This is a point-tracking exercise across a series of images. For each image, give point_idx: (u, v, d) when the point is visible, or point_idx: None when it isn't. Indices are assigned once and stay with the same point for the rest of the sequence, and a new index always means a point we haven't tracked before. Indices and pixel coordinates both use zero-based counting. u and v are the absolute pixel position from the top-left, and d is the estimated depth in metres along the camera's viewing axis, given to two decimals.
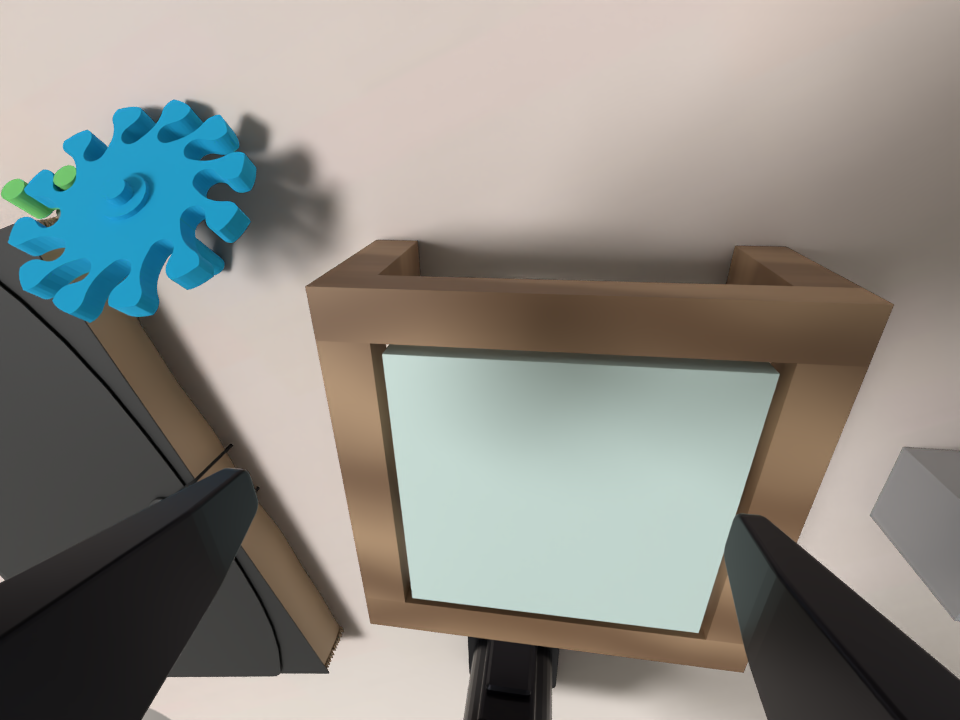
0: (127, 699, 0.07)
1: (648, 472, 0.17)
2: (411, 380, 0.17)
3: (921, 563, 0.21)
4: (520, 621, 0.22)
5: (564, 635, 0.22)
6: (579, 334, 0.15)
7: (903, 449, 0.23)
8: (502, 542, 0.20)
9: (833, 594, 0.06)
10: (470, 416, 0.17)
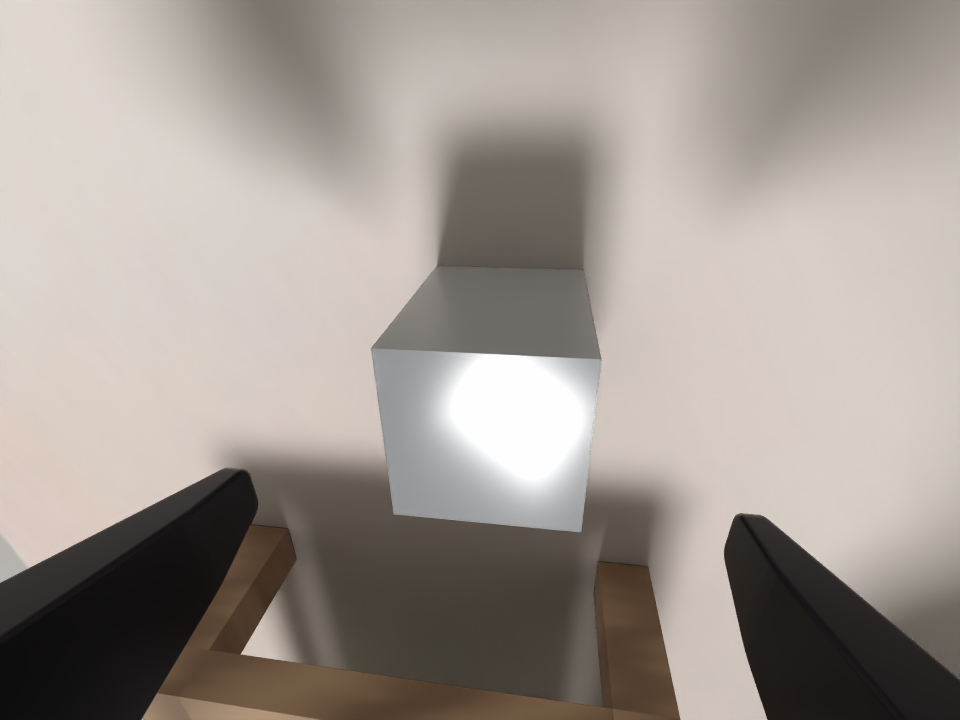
0: (127, 699, 0.07)
1: None
2: None
3: None
4: None
5: None
6: None
7: None
8: None
9: (833, 594, 0.06)
10: None
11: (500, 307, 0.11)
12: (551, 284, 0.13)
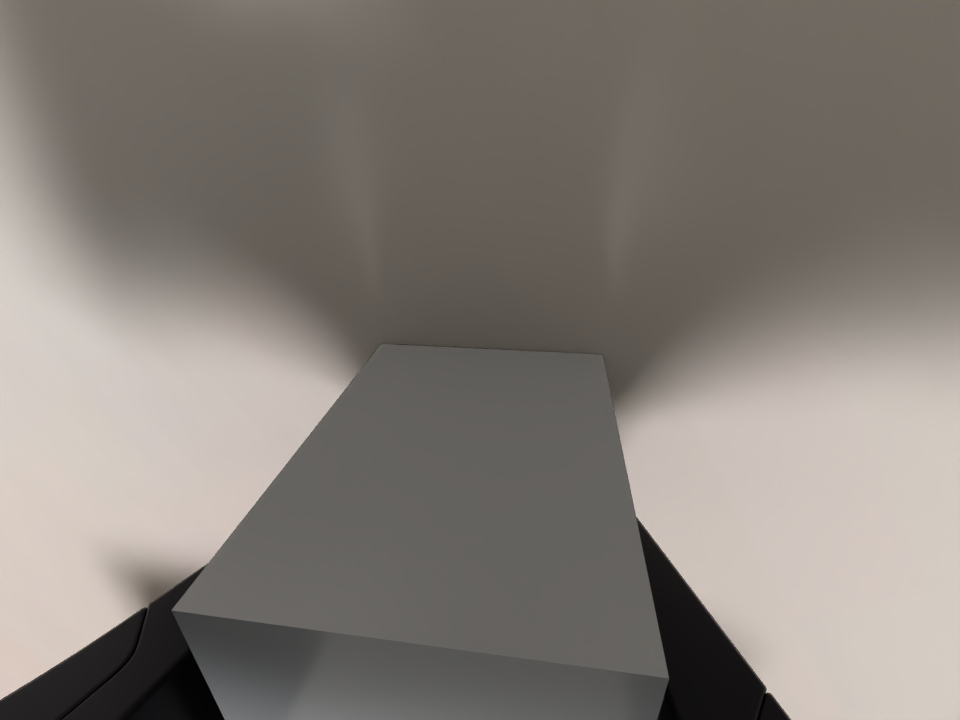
0: None
1: None
2: None
3: None
4: None
5: None
6: None
7: None
8: None
9: (656, 575, 0.06)
10: None
11: (463, 459, 0.06)
12: (553, 392, 0.08)
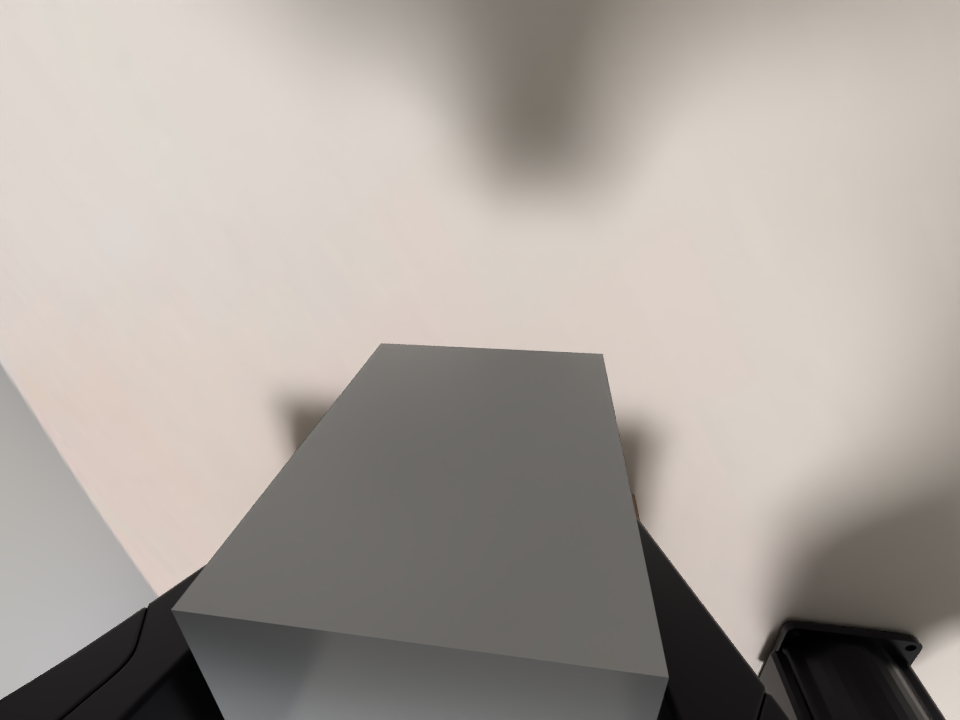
0: None
1: None
2: None
3: None
4: None
5: None
6: None
7: None
8: None
9: (656, 575, 0.06)
10: None
11: (463, 459, 0.06)
12: (553, 391, 0.08)
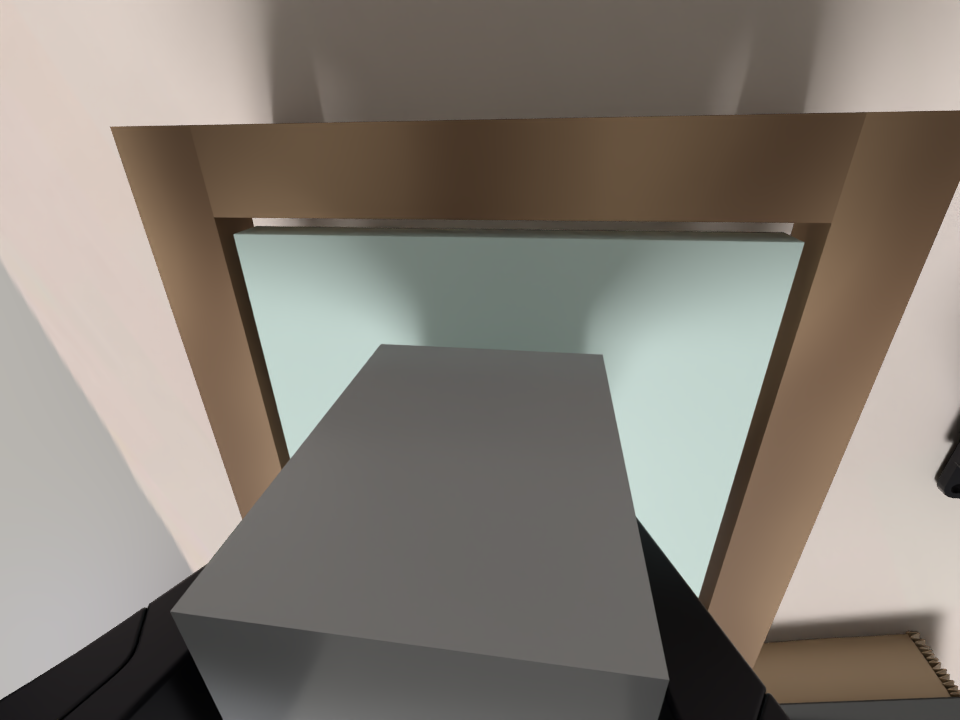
0: None
1: None
2: None
3: None
4: (750, 520, 0.13)
5: (796, 464, 0.12)
6: (253, 438, 0.14)
7: None
8: None
9: (656, 575, 0.06)
10: None
11: (463, 460, 0.06)
12: (553, 392, 0.08)
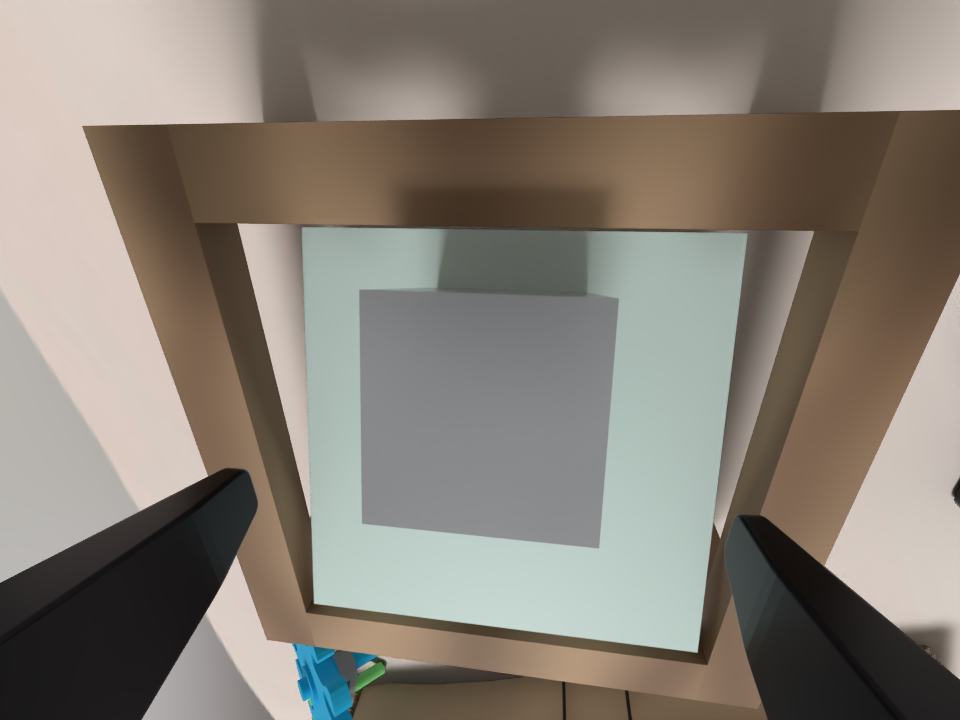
0: (127, 699, 0.07)
1: None
2: (340, 581, 0.16)
3: None
4: None
5: (814, 486, 0.11)
6: (240, 453, 0.14)
7: None
8: None
9: (833, 594, 0.06)
10: (377, 530, 0.16)
11: None
12: (555, 292, 0.12)
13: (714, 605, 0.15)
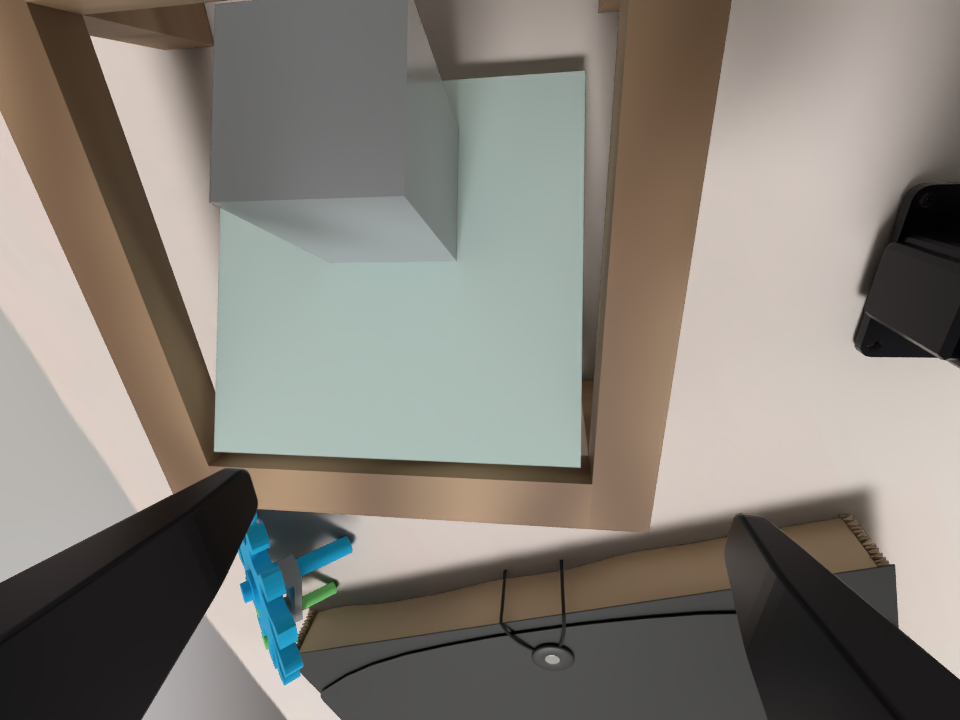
0: (127, 699, 0.07)
1: None
2: (240, 425, 0.17)
3: (408, 229, 0.12)
4: (617, 327, 0.13)
5: (651, 250, 0.12)
6: (114, 277, 0.14)
7: (331, 262, 0.16)
8: (451, 334, 0.16)
9: (833, 594, 0.06)
10: (276, 367, 0.17)
11: None
12: None
13: (594, 421, 0.15)
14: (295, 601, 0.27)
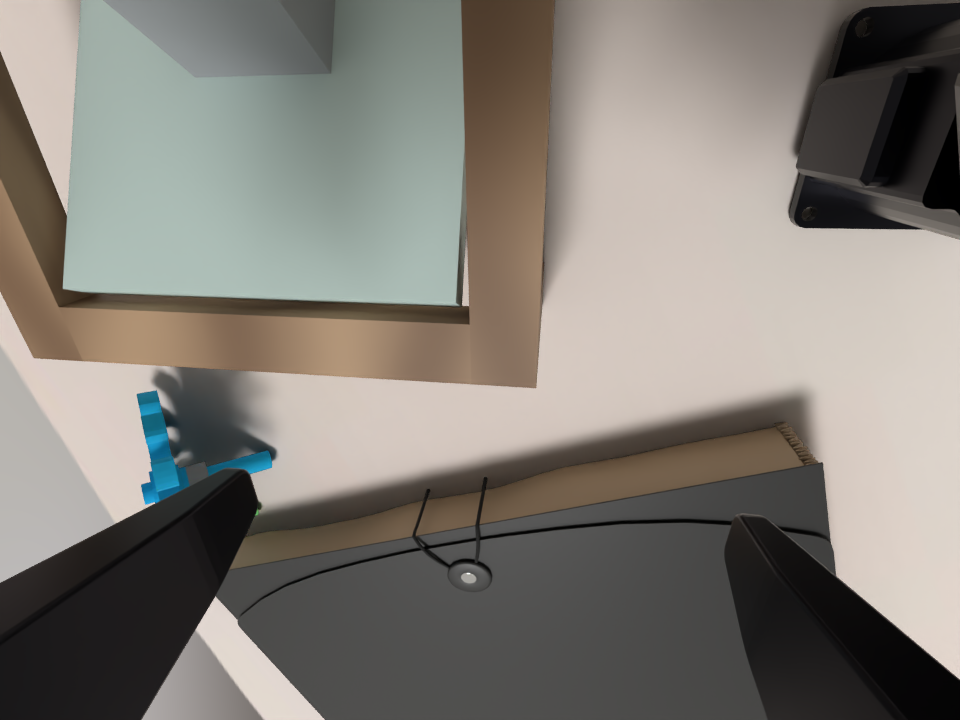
0: (127, 699, 0.07)
1: None
2: (91, 259, 0.15)
3: None
4: (478, 106, 0.11)
5: None
6: None
7: (194, 75, 0.14)
8: (321, 155, 0.14)
9: (833, 594, 0.06)
10: (133, 194, 0.15)
11: None
12: None
13: None
14: None
